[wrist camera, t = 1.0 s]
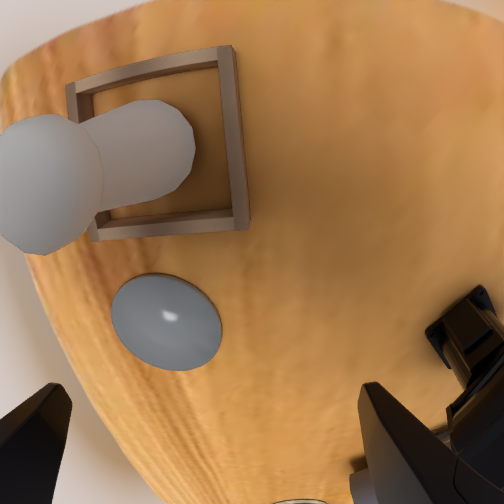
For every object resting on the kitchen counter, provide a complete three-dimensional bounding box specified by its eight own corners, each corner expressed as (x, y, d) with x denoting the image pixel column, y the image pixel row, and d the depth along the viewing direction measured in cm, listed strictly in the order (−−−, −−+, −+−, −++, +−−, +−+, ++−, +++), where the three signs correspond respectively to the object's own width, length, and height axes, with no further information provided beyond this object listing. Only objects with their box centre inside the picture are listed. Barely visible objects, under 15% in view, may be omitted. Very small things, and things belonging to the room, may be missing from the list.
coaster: (246, 330, 24) (245, 335, 23) (175, 380, 27) (173, 384, 26) (155, 249, 22) (152, 253, 21) (96, 316, 24) (93, 320, 24)
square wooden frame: (235, 52, 16) (231, 44, 14) (250, 219, 20) (248, 229, 19) (81, 86, 17) (65, 85, 15) (103, 231, 21) (90, 241, 19)
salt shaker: (222, 155, 19) (139, 219, 7) (153, 207, 20) (31, 318, 8) (168, 82, 17) (23, 48, 5) (103, 140, 19) (-55, 185, 7)
